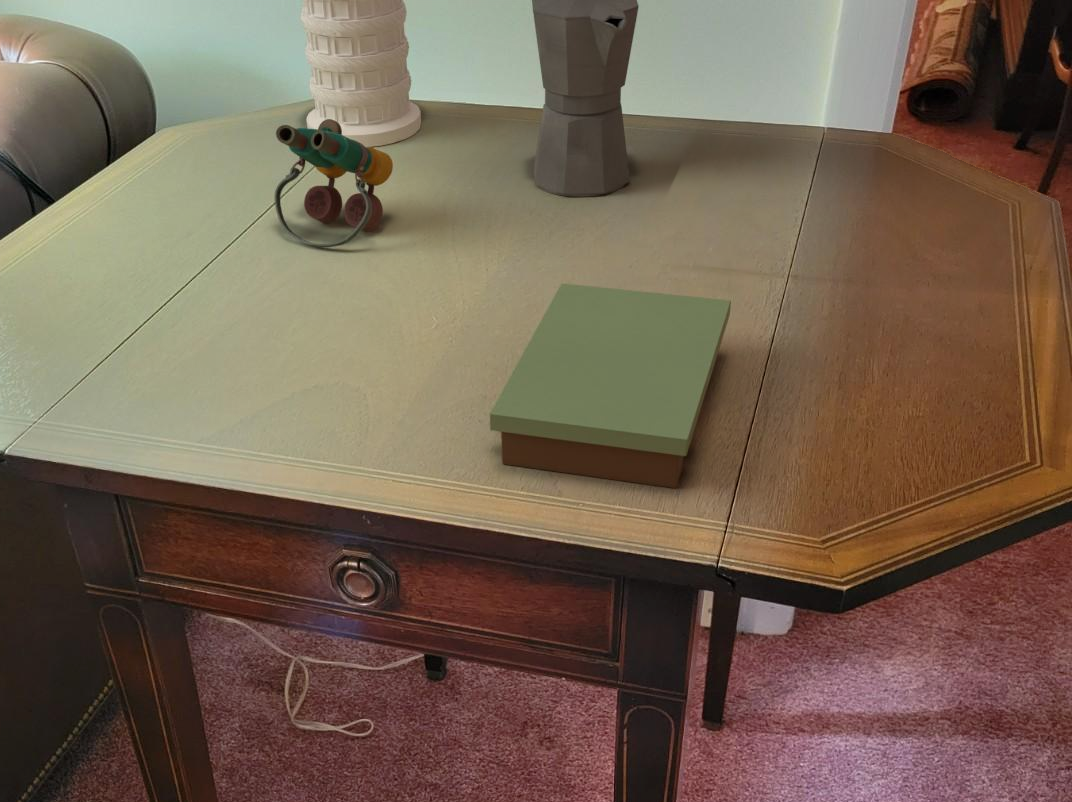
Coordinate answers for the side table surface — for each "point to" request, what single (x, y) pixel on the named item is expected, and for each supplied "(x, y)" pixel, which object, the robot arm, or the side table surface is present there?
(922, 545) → the side table surface
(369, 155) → the binoculars
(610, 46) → the coffeepot
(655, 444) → the box with lid
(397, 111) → the decorative container
